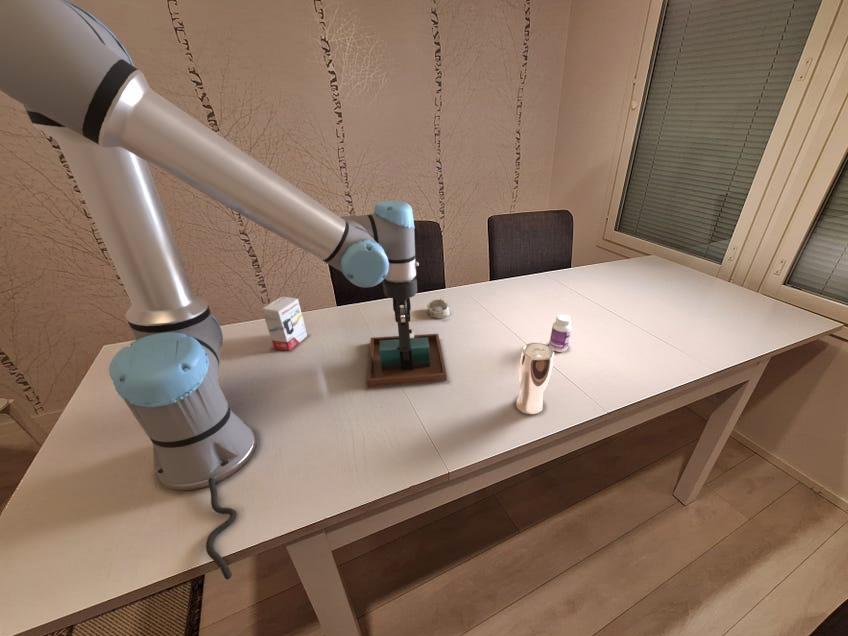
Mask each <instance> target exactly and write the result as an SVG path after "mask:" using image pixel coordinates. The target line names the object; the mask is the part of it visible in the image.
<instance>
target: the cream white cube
mask: <svg viewBox="0 0 848 636" xmlns="http://www.w3.org/2000/svg"><path fill="white" fill-rule="evenodd" d="M409 334H410V339H411V338H414V335H415V332H414V331H413V330H412V333H409Z"/></svg>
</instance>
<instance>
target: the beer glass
mask: <svg viewBox="0 0 848 636" xmlns="http://www.w3.org/2000/svg"><path fill="white" fill-rule="evenodd" d="M520 354H521V355H520V358H519V363H518V382H519V393H518V397H517V399H516V402H515V405H516V408H517V410H519V411H520V412H522V413H523V414H527V415H536V414H539V413H541V411H542V410H543V409H544V401H543V399H544V393H545V391H546V388H547V386H548V384H549V381H550V379H551V375H552V371H553V365H554V356H555V351H554V350H553V349H552V348H551V347H549V345H548V344H544V343H541V342H529V343H527V344H525V345H523V347H522V349H521V353H520Z"/></svg>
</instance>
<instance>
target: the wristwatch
mask: <svg viewBox="0 0 848 636" xmlns="http://www.w3.org/2000/svg"><path fill="white" fill-rule="evenodd" d="M426 307H427V310H428V313H429V315H430V316H431V317H432V318H437V319H444V318H447V317H448V316H450V314H451V311H450V308H449V304H448V302H447V300H445V299H443V298H439V299H433V300H431V301H430V302H428V304H427V305H426ZM436 308H441V309H442V310H441V311H435V310H434V309H436Z"/></svg>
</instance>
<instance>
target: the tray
mask: <svg viewBox="0 0 848 636" xmlns="http://www.w3.org/2000/svg"><path fill="white" fill-rule="evenodd" d="M426 337H428V342H429V350H430V367H422V368H412V369H410V370H401V369H397V370H385V371H382V367H381V359H380V352H379V348H380V340H395V339H399V335H393V336H376V337H375V336H374V337H370V339H369V340H370V341H369V351H368V352H369V353H368V366H367V376H366V383H367V387H368V388H374V387H385V386H397V385H411V384H421V383H423V384H424V383H433V382H434V383H435V382H445V381H446V382H447V381H448V380H447V377H448V375H447V374H448V373H447V370H446V369H447V368H446V365H445V364H446V363H445V359H444V355H443V349H442V345H441V340H440V336H439V333H429V334H428V333H427V334H414V338H426Z"/></svg>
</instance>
